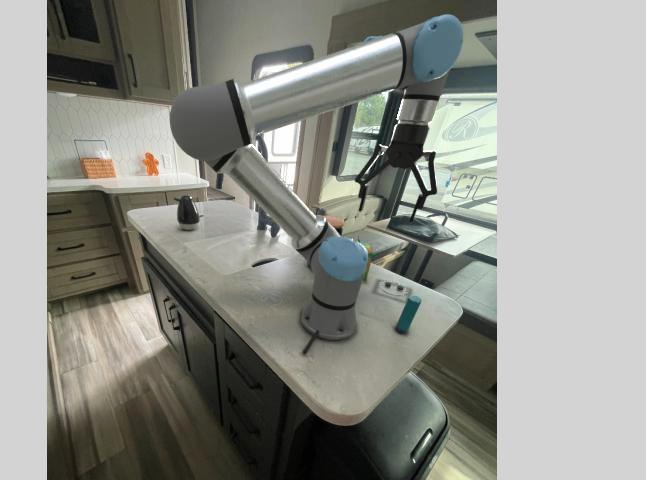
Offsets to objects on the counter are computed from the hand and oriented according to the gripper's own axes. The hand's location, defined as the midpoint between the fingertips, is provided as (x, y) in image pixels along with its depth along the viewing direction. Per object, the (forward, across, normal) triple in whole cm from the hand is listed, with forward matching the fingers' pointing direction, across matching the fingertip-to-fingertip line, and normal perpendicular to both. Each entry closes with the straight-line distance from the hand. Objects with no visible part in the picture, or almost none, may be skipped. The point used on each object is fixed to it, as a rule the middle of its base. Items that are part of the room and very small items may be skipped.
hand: (385, 215), depth 74 cm
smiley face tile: (+27, -9, -9) cm, 30 cm away
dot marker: (+27, -14, +12) cm, 33 cm away
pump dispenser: (+26, +85, -12) cm, 90 cm away
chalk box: (+27, +6, -12) cm, 30 cm away
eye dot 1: (+26, -7, -9) cm, 28 cm away
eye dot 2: (+26, -11, -9) cm, 29 cm away
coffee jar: (+26, +18, -12) cm, 34 cm away
